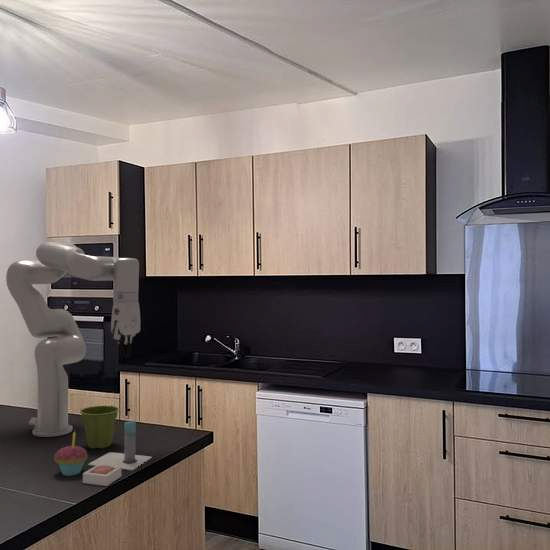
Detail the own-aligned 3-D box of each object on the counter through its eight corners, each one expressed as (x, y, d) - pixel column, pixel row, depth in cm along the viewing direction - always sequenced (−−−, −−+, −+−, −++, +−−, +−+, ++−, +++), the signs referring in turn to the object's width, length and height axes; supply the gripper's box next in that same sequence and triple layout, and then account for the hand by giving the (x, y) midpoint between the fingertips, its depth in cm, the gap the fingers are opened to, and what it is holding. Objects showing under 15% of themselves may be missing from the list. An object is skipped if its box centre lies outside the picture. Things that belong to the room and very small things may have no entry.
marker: (122, 462, 163) (122, 423, 162) (127, 458, 166) (127, 420, 165) (131, 463, 162) (132, 424, 162) (137, 459, 165) (137, 421, 165)
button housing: (82, 483, 148) (82, 473, 148) (98, 473, 155) (98, 464, 155) (106, 486, 146) (106, 476, 146) (121, 476, 153) (121, 467, 153)
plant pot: (126, 441, 183) (126, 406, 183) (105, 453, 172) (106, 415, 172) (93, 438, 186) (94, 403, 186) (71, 449, 175) (71, 412, 175)
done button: (90, 480, 149) (90, 470, 149) (99, 474, 153) (99, 464, 153) (105, 482, 148) (105, 472, 147) (114, 476, 152) (114, 466, 152)
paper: (88, 465, 161) (88, 463, 161) (109, 453, 172) (109, 451, 172) (132, 470, 157) (132, 469, 157) (151, 457, 168) (152, 456, 168)
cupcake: (93, 472, 155) (93, 428, 155) (64, 481, 149) (64, 434, 149) (77, 465, 161) (77, 422, 161) (47, 472, 155) (48, 428, 155)
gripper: (123, 299, 170) (121, 361, 170) (148, 297, 184) (147, 354, 185) (101, 298, 172) (99, 359, 172) (128, 296, 186) (126, 352, 187)
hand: (124, 356), depth 178 cm, fingers closed
